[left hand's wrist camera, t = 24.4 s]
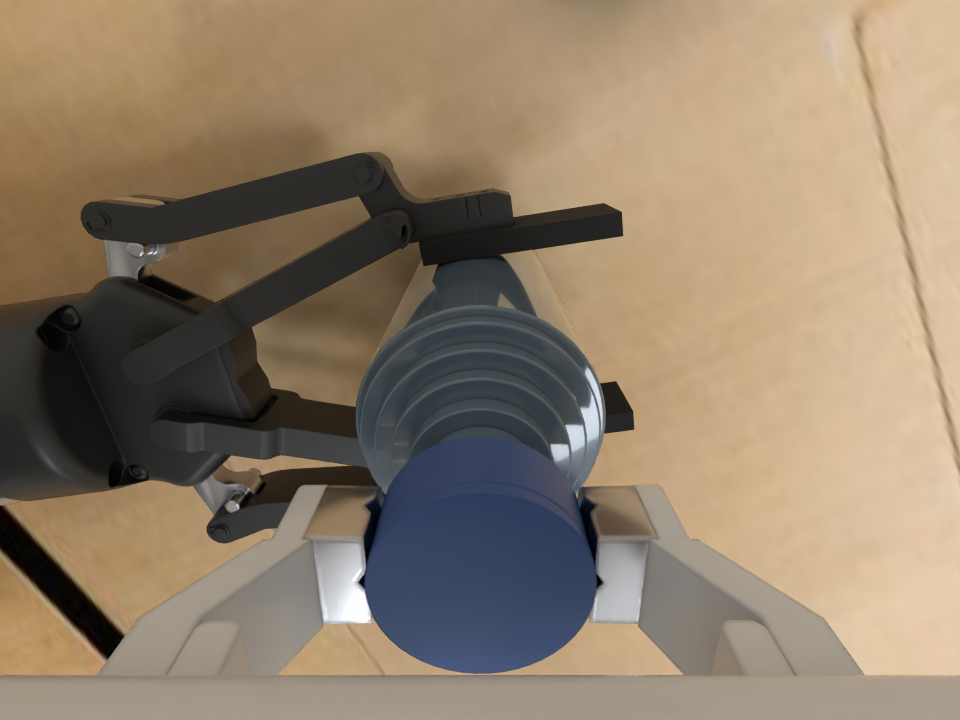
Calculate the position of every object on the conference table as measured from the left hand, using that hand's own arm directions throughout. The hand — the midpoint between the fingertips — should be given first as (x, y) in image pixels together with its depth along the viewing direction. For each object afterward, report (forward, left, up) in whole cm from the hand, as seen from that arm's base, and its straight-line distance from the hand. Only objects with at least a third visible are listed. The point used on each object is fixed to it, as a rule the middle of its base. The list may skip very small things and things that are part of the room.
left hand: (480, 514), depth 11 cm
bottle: (0, 0, -17) cm, 17 cm away
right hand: (+4, -4, -10) cm, 12 cm away
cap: (0, 0, +2) cm, 2 cm away
